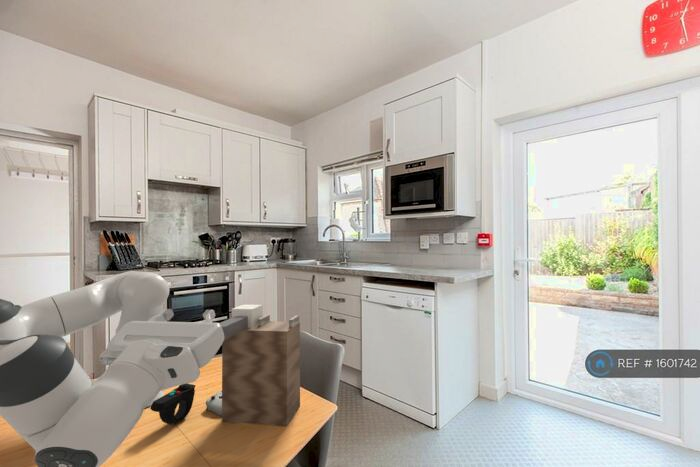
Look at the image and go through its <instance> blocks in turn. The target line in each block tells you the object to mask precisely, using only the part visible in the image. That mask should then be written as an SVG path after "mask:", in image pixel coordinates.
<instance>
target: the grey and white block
mask: <svg viewBox="0 0 700 467" xmlns="http://www.w3.org/2000/svg"><path fill="white" fill-rule="evenodd" d="M263 309H264V305H263V304H242V305H238V306H236V307H234V308H233V307H232V308H231V317H230V318H228V319H226V320H224V321H221V322H218V323H219V324H220V326H221V328H222V330H223V333H224V340H225V339H227V338H229V337H231V336H232V335H234V334H236V333H238V332H240V331H242V330H244V329H246V328H252V327H254V326H256V325H258V319H259V318H261V317H263V316H264V313H263V312H264V311H263Z"/></svg>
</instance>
